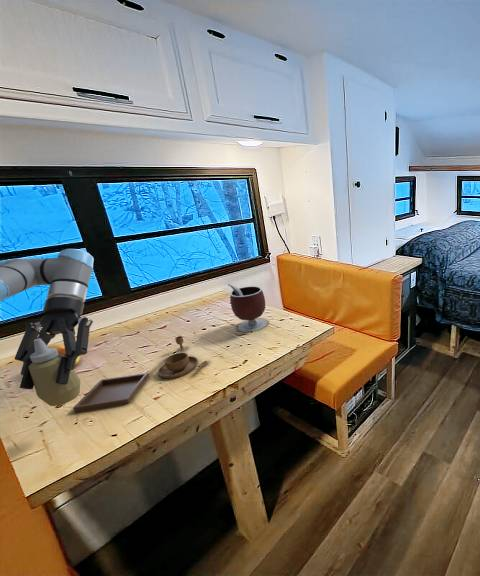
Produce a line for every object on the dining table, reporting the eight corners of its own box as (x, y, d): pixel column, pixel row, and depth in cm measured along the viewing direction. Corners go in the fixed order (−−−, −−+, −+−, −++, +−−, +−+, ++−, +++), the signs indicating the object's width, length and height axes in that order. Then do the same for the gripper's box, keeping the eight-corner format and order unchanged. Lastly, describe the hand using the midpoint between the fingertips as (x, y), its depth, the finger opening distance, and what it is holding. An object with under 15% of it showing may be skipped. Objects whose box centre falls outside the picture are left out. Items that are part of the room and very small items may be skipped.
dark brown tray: (75, 413, 88) (72, 407, 88) (103, 384, 101) (101, 379, 100) (129, 404, 91) (127, 399, 91) (149, 377, 104) (148, 372, 103)
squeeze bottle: (33, 410, 77) (1, 348, 71) (63, 389, 85) (37, 332, 78) (65, 409, 77) (37, 347, 71) (93, 388, 85) (69, 331, 79)
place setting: (142, 380, 102) (136, 365, 100) (179, 348, 121) (176, 335, 119) (193, 379, 102) (189, 364, 100) (223, 348, 121) (220, 335, 119)
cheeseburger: (32, 376, 106) (28, 348, 105) (68, 365, 116) (65, 339, 115) (56, 377, 104) (53, 349, 103) (90, 366, 115) (87, 340, 114)
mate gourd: (275, 320, 143) (268, 280, 136) (256, 335, 130) (248, 291, 124) (246, 318, 147) (238, 278, 140) (226, 331, 134) (216, 289, 127)
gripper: (115, 302, 90) (100, 381, 81) (34, 309, 86) (9, 394, 76) (98, 291, 83) (79, 377, 74) (10, 299, 79) (-22, 390, 70)
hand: (44, 385), depth 75 cm, fingers closed on squeeze bottle, 6 cm apart
